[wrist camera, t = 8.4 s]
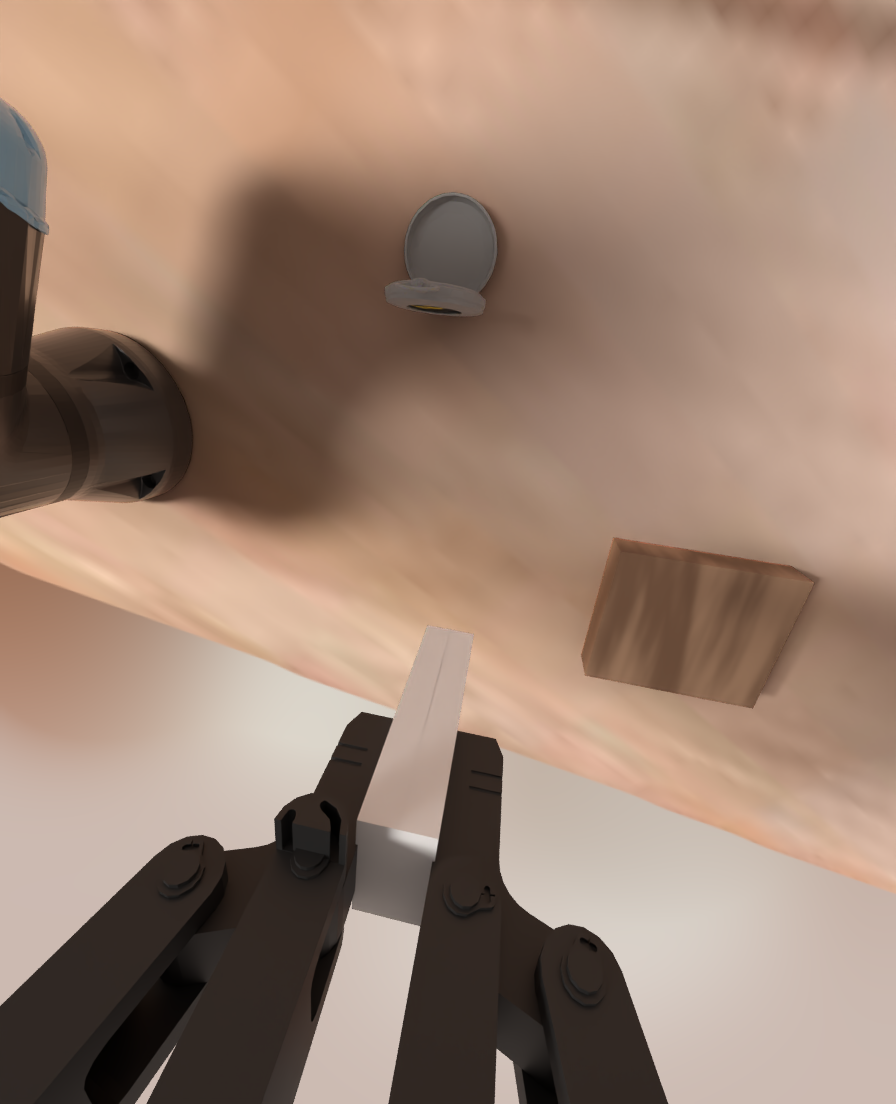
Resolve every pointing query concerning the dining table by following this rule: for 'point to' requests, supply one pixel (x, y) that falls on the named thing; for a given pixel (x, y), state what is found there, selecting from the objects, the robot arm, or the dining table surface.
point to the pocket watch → (447, 258)
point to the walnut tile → (691, 621)
